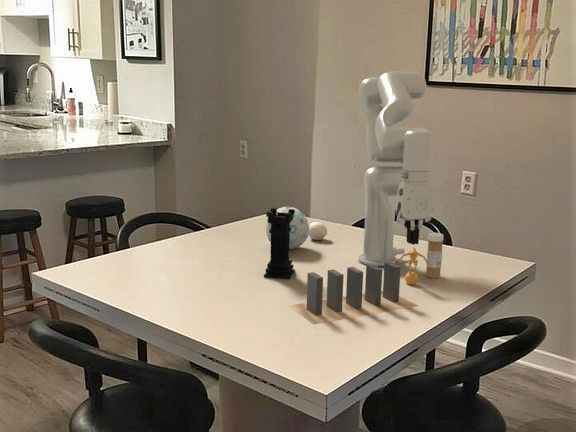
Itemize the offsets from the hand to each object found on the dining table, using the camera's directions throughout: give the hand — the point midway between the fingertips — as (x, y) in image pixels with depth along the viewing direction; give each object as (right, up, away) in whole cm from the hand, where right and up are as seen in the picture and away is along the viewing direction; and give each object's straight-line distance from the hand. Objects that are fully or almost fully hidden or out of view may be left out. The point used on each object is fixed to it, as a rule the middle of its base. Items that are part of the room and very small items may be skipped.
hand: (412, 243), depth 177 cm
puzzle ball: (-34, -4, +50) cm, 61 cm away
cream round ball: (-23, -2, +64) cm, 68 cm away
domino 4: (-11, -16, -2) cm, 20 cm away
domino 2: (-22, -17, -7) cm, 28 cm away
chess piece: (-37, -11, +22) cm, 44 cm away
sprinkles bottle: (+11, -11, +24) cm, 28 cm away
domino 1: (-27, -17, -9) cm, 34 cm away
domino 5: (-6, -16, +1) cm, 17 cm away
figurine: (+2, -13, +14) cm, 20 cm away
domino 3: (-16, -16, -4) cm, 24 cm away
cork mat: (-16, -17, -4) cm, 24 cm away
